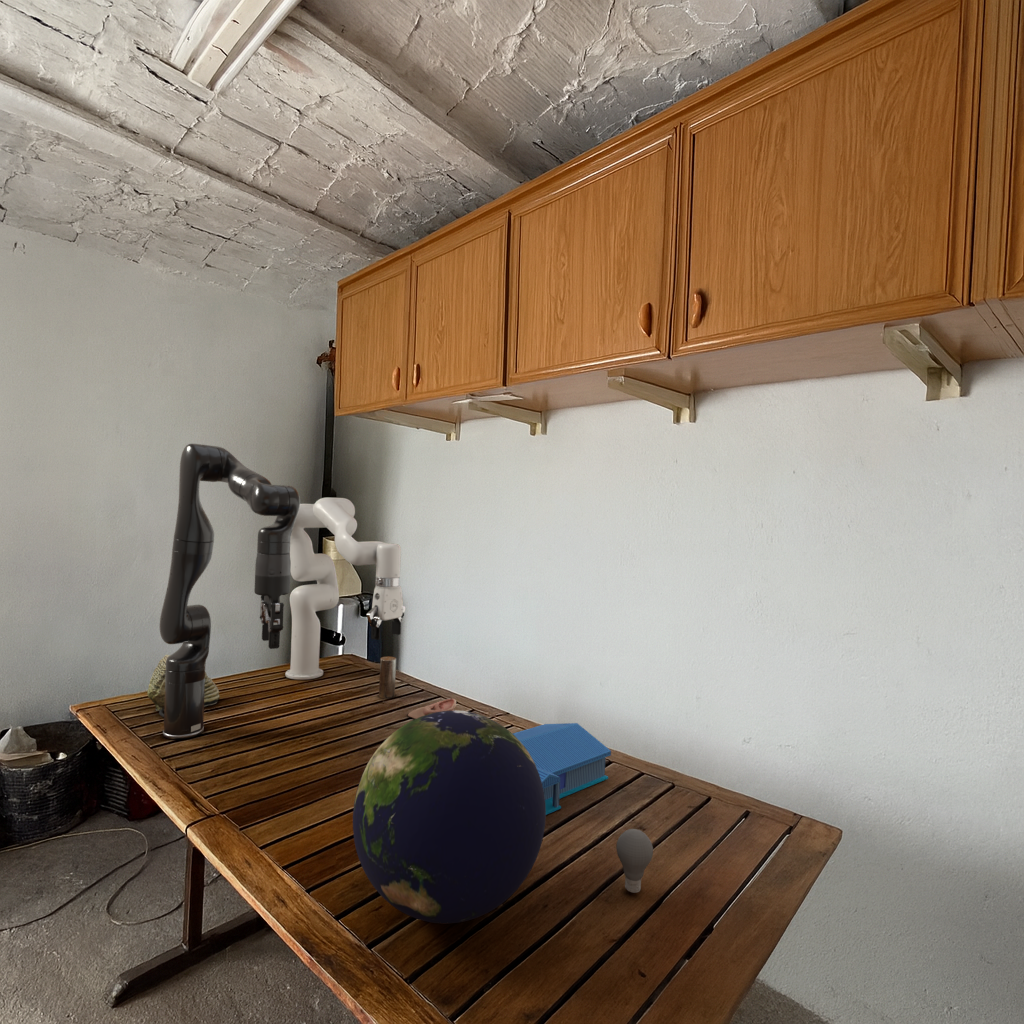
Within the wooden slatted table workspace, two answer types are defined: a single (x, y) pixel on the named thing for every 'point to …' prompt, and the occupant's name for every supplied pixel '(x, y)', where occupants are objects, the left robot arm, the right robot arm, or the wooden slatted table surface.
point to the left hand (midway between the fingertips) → (270, 644)
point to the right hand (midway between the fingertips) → (386, 636)
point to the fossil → (158, 687)
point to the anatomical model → (434, 708)
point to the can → (387, 677)
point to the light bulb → (634, 857)
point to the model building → (564, 759)
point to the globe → (449, 817)
